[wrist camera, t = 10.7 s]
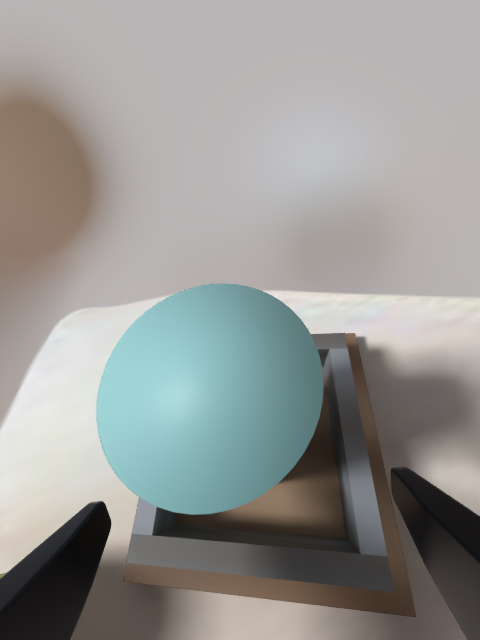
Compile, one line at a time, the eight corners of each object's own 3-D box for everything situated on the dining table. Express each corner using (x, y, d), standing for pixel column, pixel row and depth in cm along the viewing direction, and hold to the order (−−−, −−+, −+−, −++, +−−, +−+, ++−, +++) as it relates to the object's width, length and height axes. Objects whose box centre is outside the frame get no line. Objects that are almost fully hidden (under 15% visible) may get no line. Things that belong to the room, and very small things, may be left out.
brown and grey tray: (407, 607, 12) (454, 659, 9) (132, 574, 14) (84, 606, 11) (352, 339, 19) (366, 310, 16) (175, 345, 21) (153, 320, 18)
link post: (316, 456, 15) (381, 415, 5) (241, 505, 14) (128, 583, 4) (270, 383, 17) (247, 255, 7) (205, 422, 17) (80, 342, 7)
